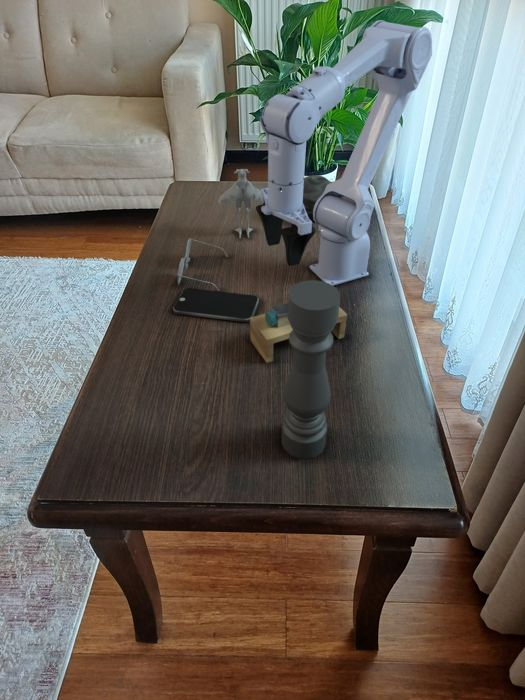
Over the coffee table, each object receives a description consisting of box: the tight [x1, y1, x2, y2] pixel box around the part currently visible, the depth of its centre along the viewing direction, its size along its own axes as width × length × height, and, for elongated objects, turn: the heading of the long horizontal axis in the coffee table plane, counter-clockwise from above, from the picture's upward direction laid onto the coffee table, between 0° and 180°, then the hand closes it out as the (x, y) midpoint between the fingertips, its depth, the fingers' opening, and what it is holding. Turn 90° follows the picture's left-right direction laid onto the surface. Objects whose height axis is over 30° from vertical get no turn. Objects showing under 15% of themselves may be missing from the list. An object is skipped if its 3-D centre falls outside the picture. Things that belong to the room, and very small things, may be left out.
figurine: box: [217, 168, 264, 239], centre depth 113 cm, size 11×4×15 cm, turn 93°
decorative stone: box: [303, 174, 332, 221], centre depth 121 cm, size 10×10×10 cm
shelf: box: [249, 306, 348, 364], centre depth 89 cm, size 15×6×5 cm, turn 116°
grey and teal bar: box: [264, 303, 290, 327], centre depth 86 cm, size 11×2×2 cm, turn 116°
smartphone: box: [172, 287, 260, 323], centre depth 97 cm, size 8×1×15 cm
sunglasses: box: [177, 237, 229, 292], centre depth 105 cm, size 14×8×5 cm, turn 175°
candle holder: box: [281, 279, 341, 460], centre depth 65 cm, size 6×6×25 cm
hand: (283, 253), depth 92 cm, fingers open, 7 cm apart
